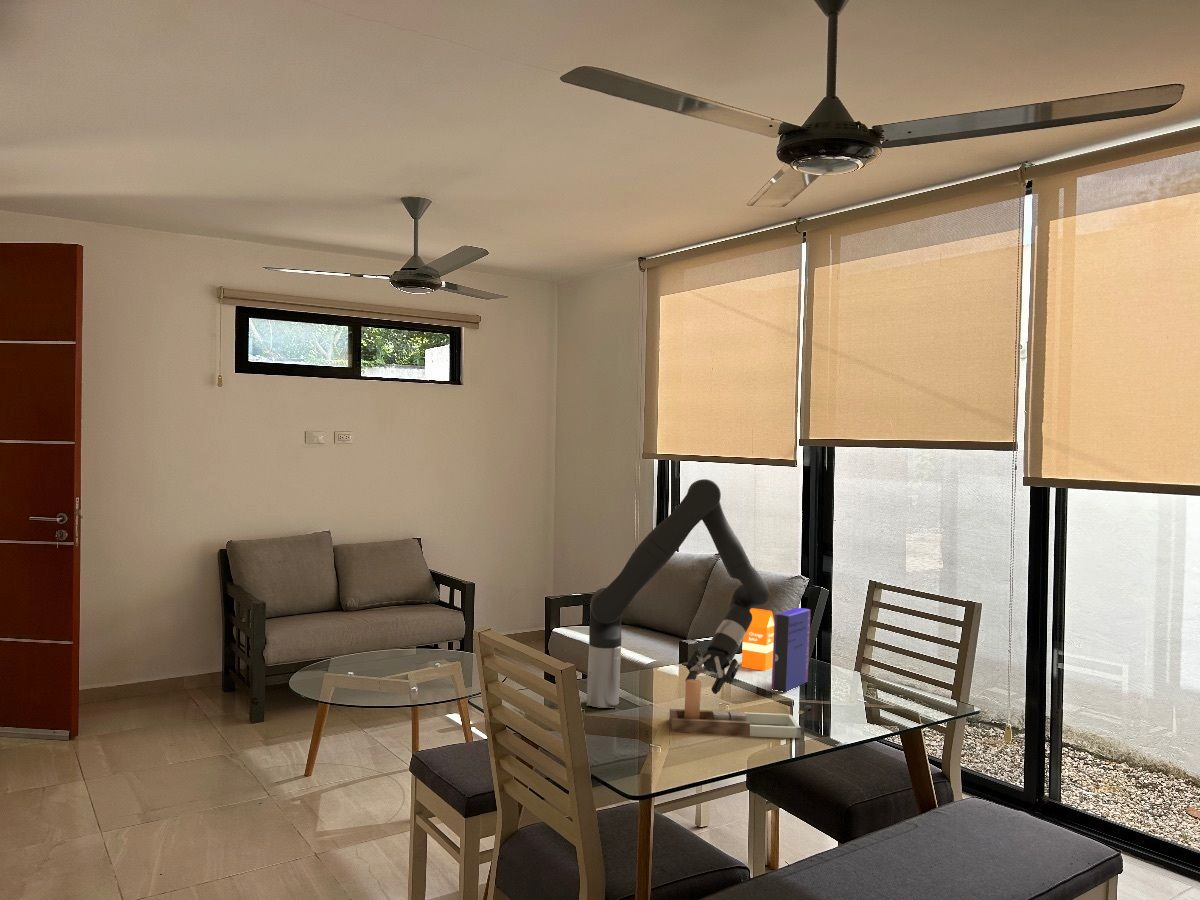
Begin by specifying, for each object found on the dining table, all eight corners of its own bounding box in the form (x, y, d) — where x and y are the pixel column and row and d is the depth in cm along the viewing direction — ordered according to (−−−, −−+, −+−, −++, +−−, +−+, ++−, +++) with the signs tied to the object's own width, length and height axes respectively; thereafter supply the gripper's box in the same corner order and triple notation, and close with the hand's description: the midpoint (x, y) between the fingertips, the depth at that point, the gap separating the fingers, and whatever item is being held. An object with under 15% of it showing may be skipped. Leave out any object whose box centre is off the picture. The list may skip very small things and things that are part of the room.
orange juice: (765, 670, 307) (767, 612, 307) (741, 666, 312) (743, 609, 312) (773, 666, 314) (776, 609, 314) (750, 662, 319) (752, 606, 319)
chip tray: (749, 739, 232) (750, 725, 232) (742, 725, 244) (743, 712, 244) (800, 741, 232) (800, 727, 232) (790, 727, 244) (791, 714, 244)
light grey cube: (713, 729, 236) (713, 714, 236) (711, 724, 240) (712, 710, 240) (728, 730, 236) (729, 715, 236) (726, 725, 240) (727, 710, 240)
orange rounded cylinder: (684, 728, 236) (686, 682, 236) (683, 723, 240) (685, 678, 240) (699, 729, 236) (701, 683, 236) (698, 724, 240) (700, 679, 240)
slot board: (672, 736, 232) (673, 721, 232) (668, 722, 244) (669, 707, 244) (749, 739, 232) (750, 724, 232) (742, 725, 244) (743, 710, 244)
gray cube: (730, 730, 236) (731, 715, 236) (728, 725, 240) (728, 710, 240) (745, 731, 236) (746, 715, 236) (743, 726, 240) (743, 711, 240)
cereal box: (793, 679, 296) (796, 607, 296) (807, 682, 294) (810, 609, 294) (771, 690, 282) (774, 613, 282) (785, 693, 279) (788, 615, 279)
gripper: (700, 627, 252) (673, 675, 243) (743, 636, 242) (717, 685, 234) (711, 644, 256) (685, 691, 247) (753, 653, 246) (727, 702, 238)
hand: (700, 688), depth 240 cm, fingers open, 8 cm apart
